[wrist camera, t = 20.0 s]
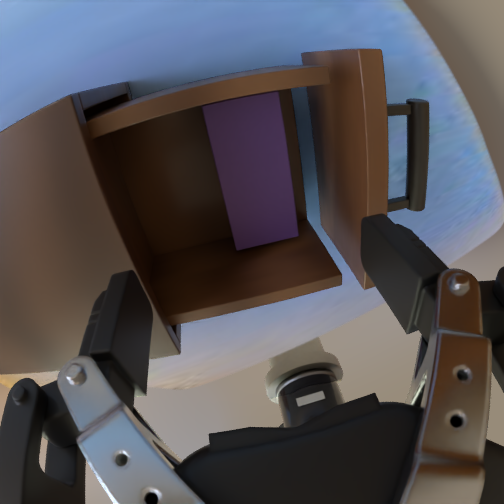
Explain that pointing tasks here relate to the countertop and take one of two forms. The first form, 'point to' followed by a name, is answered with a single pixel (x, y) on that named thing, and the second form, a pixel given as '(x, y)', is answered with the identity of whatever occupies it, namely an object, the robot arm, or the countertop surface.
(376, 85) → the drawer
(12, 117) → the countertop surface
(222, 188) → the purple rectangular block
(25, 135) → the cabinet
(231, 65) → the countertop surface
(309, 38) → the countertop surface
